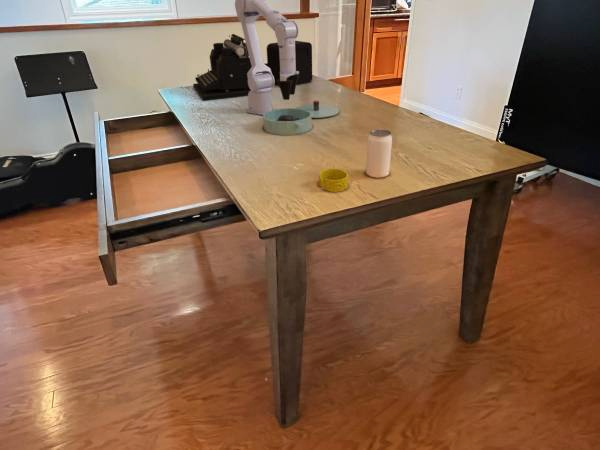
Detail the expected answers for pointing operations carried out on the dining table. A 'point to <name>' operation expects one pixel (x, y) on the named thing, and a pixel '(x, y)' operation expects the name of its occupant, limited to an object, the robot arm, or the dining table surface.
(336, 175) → the bracelet
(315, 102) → the lid
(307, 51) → the air purifier
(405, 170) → the dining table surface
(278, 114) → the pot
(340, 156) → the dining table surface
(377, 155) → the can
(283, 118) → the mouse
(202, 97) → the typewriter
